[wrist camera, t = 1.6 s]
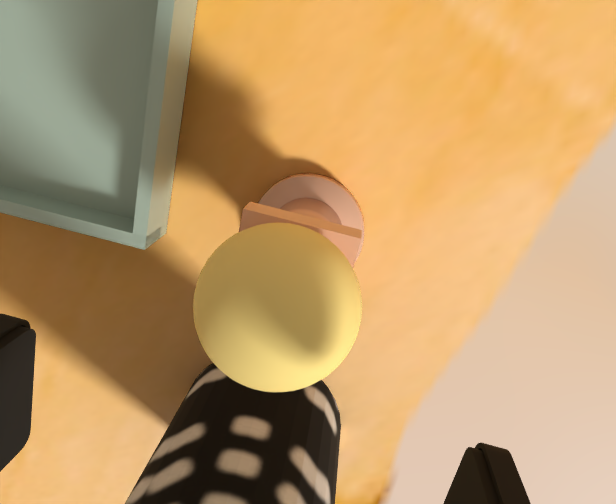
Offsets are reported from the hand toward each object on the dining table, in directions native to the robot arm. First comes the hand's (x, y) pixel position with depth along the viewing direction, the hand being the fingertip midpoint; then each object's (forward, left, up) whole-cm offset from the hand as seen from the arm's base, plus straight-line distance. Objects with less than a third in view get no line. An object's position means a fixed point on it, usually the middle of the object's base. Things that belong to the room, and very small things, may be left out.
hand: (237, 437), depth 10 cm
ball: (-1, 0, -8) cm, 8 cm away
